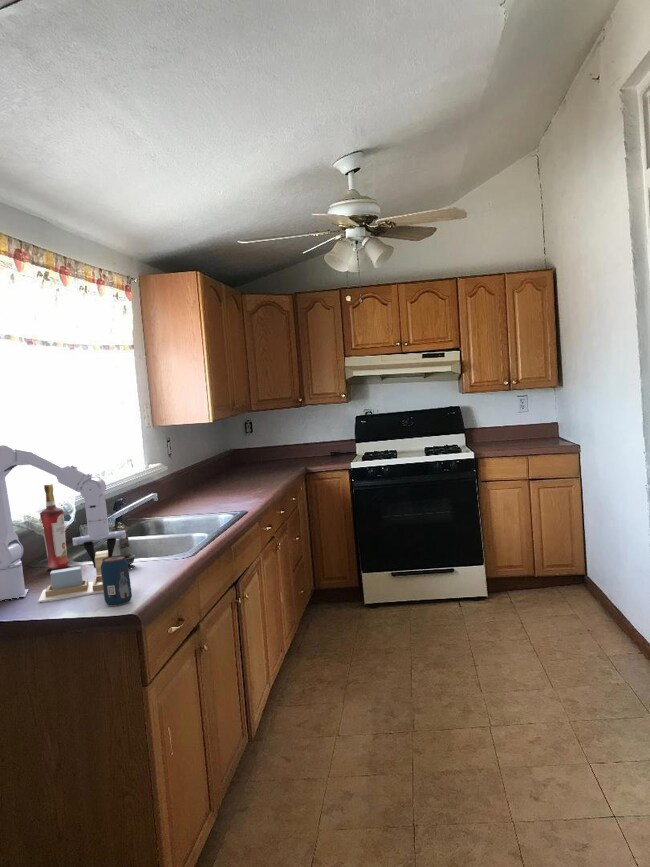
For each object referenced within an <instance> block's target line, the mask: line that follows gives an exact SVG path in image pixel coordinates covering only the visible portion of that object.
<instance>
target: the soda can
mask: <svg viewBox="0 0 650 867" xmlns="http://www.w3.org/2000/svg"><path fill="white" fill-rule="evenodd" d="M101 574H102V583H103V591H104V592H103V598H104V602H105V604H107V606H108V607H117V606H119V605H120V606H124V605H127V604H128V602H129V601H130V602H131V600H132V597H133V593H132V585H131V584H132V583H131V578H130V569H129V568H128V562H127V560H126V559H125V556H121V555H120V554H119V555H112V556H111V557H107V558H104V559H103V560H102V564H101ZM130 602H129V603H130ZM126 603H127V604H126ZM123 604H124V605H123ZM120 606H119V607H120Z"/></svg>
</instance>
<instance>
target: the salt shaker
mask: <svg viewBox="0 0 650 867" xmlns="http://www.w3.org/2000/svg"><path fill="white" fill-rule="evenodd" d="M118 541H119V542H118V544H119V545H118V547H119V552H120V553H119V555H121V556H125V559H126V560H127V562H128V568H129V570H132V569H131V568H133V569H135V568H136V565H134V564H133V563H134V561H135V557H136V555H135V554H132V552H131V549H130V545H131V544H130V543H129V536H128V534H127V533H126V538H119V539H118ZM134 567H135V568H134Z"/></svg>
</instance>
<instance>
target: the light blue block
mask: <svg viewBox="0 0 650 867" xmlns="http://www.w3.org/2000/svg"><path fill="white" fill-rule="evenodd" d="M49 574H50V575H49V576H50V582H51V585H52V590H55V589H61V588H68V587H74V586H80V585H83V580H84V579H83V573H82V567H81V566H80V565H79V566H74V567H68V568H63V569H59V570H51V571H50V573H49Z"/></svg>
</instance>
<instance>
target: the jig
mask: <svg viewBox="0 0 650 867" xmlns="http://www.w3.org/2000/svg"><path fill="white" fill-rule="evenodd" d="M100 593H101V594H102V593H103V594H104V591H103V583H102V575H98V576H97V575H96V576H94V577H93V581H89V580H88V579H83V585H80V586H74V587H68V588H61V589H55V590H52V584H51V585H48V586H47V587H46V588H45V589H43V590H42V592H41V594H40V596H39V598H38V600H37V603H38V604H41V603H40V602H42V603H47V602H54V601H58V600H59V601H60V600H66V599H71V598H78V597H83V596H88V595H89V596H90V595H95V594H96V595H97V594H100Z"/></svg>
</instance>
